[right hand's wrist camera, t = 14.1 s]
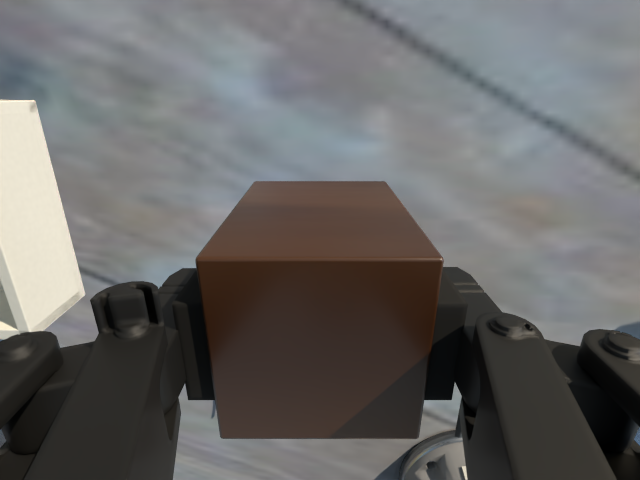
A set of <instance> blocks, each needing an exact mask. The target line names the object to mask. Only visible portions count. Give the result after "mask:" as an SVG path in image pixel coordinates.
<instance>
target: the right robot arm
mask: <svg viewBox="0 0 640 480" xmlns="http://www.w3.org/2000/svg"><path fill="white" fill-rule="evenodd" d="M90 301H91V305H92V309H93V312H94V316H95V320H96V324H97V327H98V331H99V334H98V336H97V338H96V340H95V341H94V342H89V343H84V344H79V345H74V346H69V347H63V348H60V346H59V343H58V340H57V337H56V336H55V335H54V334H53V333H51V332H46V331H35V332H25V333H20V334H17V335H13V336H11V337H9V338H7V339H5V340H3V341H0V429H1V430H2V432H3V434H4V436H5V439H6V442H5V443H4V444H3V446H2V447H1V448H0V480H173V473H174V465H175V457H176V449H177V441H178V433H179V425H180V416H181V410H180V404H179V399H178V397H179V394H180V392H181V390H182V388H183V386H184V384H186V390H187V396H188V400H215V396H214V389H213V381H212V374H211V367H210V360H209V353H208V346H207V339H206V332H205V324H204V317H203V310H202V303H201V296H200V289H199V282H198V274H197V268H182V269H181V270H179V271H177V272H176V273H174V274H172V275H170V276H169V277H168V279H167V280H166V281H165V282H164V283H163V285H162V287H160V288H159V289H158V287H157V286H156V285H154V284H153V283H149V282H144V281H138V282H127V283H122V284H118V285H115V286H112V287H109V288H106V289H104V290H103V291H101V292H99V293H97V294H96V295H95V296H94V297H93V298H92V299H91V300H90ZM454 383H456V385H457V387H458V389H459V391H460V393H461V395H462V399H461V404H460V409H459V415H458V420H457V425H456V430H453V431H448V432H444V433H440V434H437V435H435V436H432V437H430V438H428V439H426V440H424V441H423V442H421V443H420V444H418V445H417V446H416V447H414V448H413V449H412V450H411V451H410V452H409V453H408V455H407V456H406V457H405V459H404V460H403V463H402V465H401V468H400V474H399V478H400V480H640V446H639V445H638V444H637V443H636V441H635V440H634V438H635V436H636V433H637V431H638V429H639V427H640V340H639V339H637V338H635V337H633V336H631V335H629V334H626V333H623V332H622V333H620V332H619V331H614V330H603V329H597V330H589V331H588V332H587V333H585V334H584V336H583V339H582V342H581V345H580V346H575V345H570V344H564V343H559V342H554V341H549V340H545V339H544V338H543V336H542V334H541V332H540V331H539V330H538V329H537V327H536V326H535V325H533V324H532V323H530V322H529V321H527V320H525V319H523V318H520V317H518V316H515V315H512V314H508V313H503V312H501V310H500V309H499V308H498V307H497V306H496V304H495V303H494V302H493V301H492V300H491V299H490V297H489V296H488V295H487V294H486V293H484V290H483V289H482V288H481V287H480V286H479V285H478V283H477V282H476V281H475V280H474V279H473V277H472V276H471V275H470V274H468V273H466V272H465V271H463V270H461V269H460V268H458V267H443V269H442V276H441V283H440V290H439V297H438V304H437V312H436V319H435V326H434V333H433V340H432V347H431V354H430V361H429V368H428V375H427V383H426V390H425V397H424V400H452V394H453V388H454Z"/></svg>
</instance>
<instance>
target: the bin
mask: <svg viewBox="0 0 640 480" xmlns="http://www.w3.org/2000/svg"><path fill="white" fill-rule="evenodd" d="M84 296H85V291H84V287H83V284H82V280H81V276H80V272H79V268H78V264H77V261H76V257H75V253H74V249H73V245H72V241H71V237H70V233H69V230H68V226H67V222H66V218H65V214H64V210H63V206H62V203H61V199H60V195H59V191H58V187H57V183H56V179H55V176H54V172H53V168H52V164H51V160H50V156H49V152H48V148H47V145H46V141H45V137H44V133H43V129H42V125H41V121H40V118H39V114H38V110H37V106H36V102H35V101H34V100H0V339H2V340H5V339H7V338H9V337H11V336H13V335H17V334H20V333H25V332H35V331H44V330H45V329H46V328H47V327H48V326H50V325H51V324H52V323H53V322H54V321H55V320H57V319H58V318H59V317H60V316H61V315H62V314H64V313H65V312H66V311H67V310H68V309H69V308H71V307H72V306H73V305H74V304H75V303H76V302H78V301H79V300H80V299H81V298H82V297H84Z"/></svg>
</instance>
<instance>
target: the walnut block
mask: <svg viewBox="0 0 640 480" xmlns="http://www.w3.org/2000/svg"><path fill="white" fill-rule="evenodd" d="M443 262H444V260H443V257H442V256H441V255H440V253H439V252H438V251H437V249H436V248H435V247H434V245H433V244H432V243H431V241H430V240H429V239H428V237H427V236H426V235H425V233H424V232H423V231H422V229H421V228H420V227H419V226H418V224H417V223H416V222H415V220H414V219H413V218H412V216H411V215H410V214H409V212H408V211H407V210H406V208H405V207H404V206H403V204H402V203H401V202H400V200H399V199H398V198H397V196H396V195H395V194H394V192H393V191H392V190H391V188H390V187H389V186H388V184H387V183H386V182H384V181H256V182H254V183H253V184H252V186H251V187H250V188H249V190H248V191H247V192H246V193H245V195H244V196H243V197H242V199H241V200H240V201H239V203H238V204H237V205H236V206H235V208H234V209H233V210H232V212H231V213H230V214H229V216H228V217H227V218H226V219H225V221H224V222H223V223H222V225H221V226H220V227H219V229H218V230H217V231H216V233H215V234H214V235H213V236H212V238H211V239H210V240H209V242H208V243H207V244H206V246H205V247H204V248H203V249H202V251H201V252H200V253H199V255H198V256H197V257H196V267H197V274H198V282H199V289H200V296H201V303H202V310H203V317H204V324H205V332H206V339H207V346H208V353H209V360H210V367H211V374H212V381H213V389H214V396H215V403H216V410H217V417H218V424H219V431H220V437H221V438H223V439H417V438H418V437H419V432H420V425H421V418H422V411H423V404H424V397H425V390H426V383H427V375H428V368H429V361H430V354H431V347H432V340H433V333H434V326H435V319H436V312H437V304H438V297H439V290H440V283H441V276H442V269H443Z"/></svg>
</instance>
